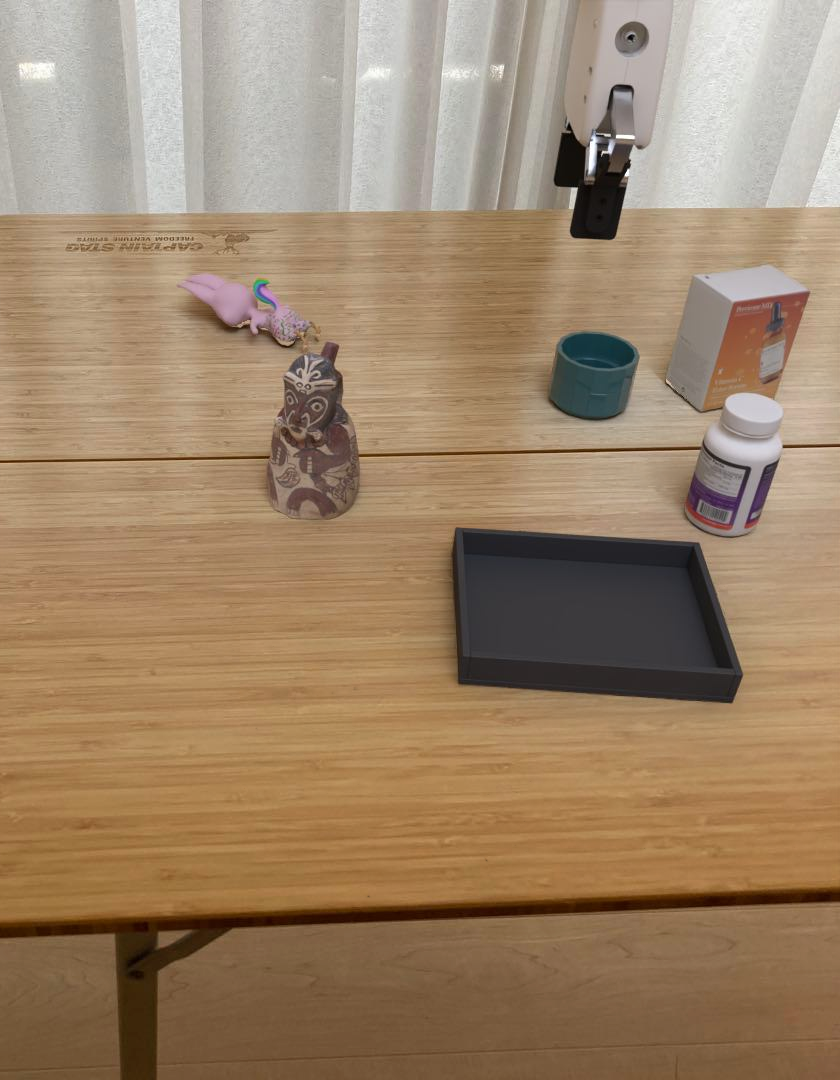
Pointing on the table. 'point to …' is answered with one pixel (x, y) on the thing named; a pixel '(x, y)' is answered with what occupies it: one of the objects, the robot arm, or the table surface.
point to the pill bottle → (736, 466)
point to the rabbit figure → (248, 306)
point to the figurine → (313, 442)
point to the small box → (735, 334)
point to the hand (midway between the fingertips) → (582, 210)
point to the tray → (590, 616)
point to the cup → (593, 374)
